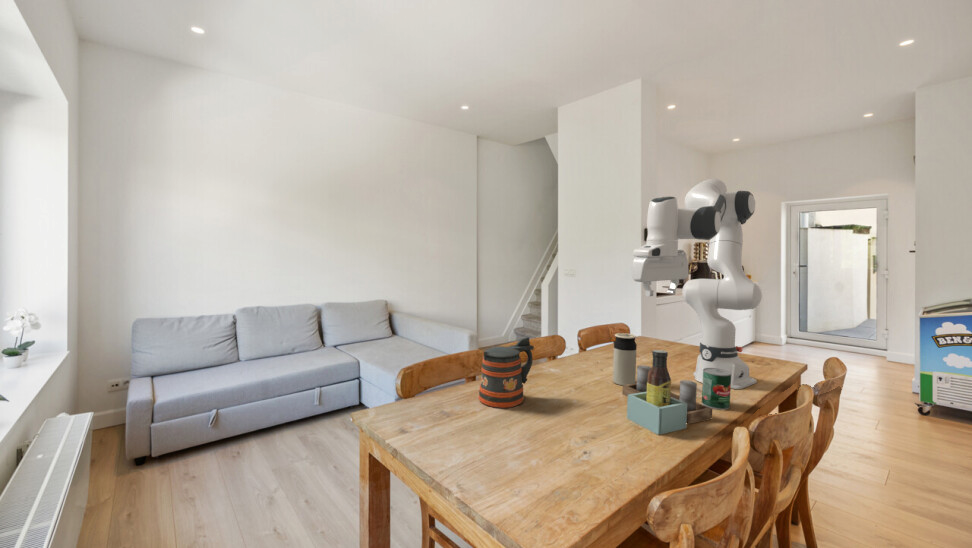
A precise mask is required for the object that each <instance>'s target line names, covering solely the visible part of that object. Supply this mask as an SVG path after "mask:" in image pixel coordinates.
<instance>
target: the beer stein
mask: <svg viewBox="0 0 972 548" xmlns="http://www.w3.org/2000/svg"><path fill="white" fill-rule="evenodd" d="M530 343H531V342H530V337H529V336H525V337H521V338H520V339H519V340H518V341H517V342H516V344H514V345H513V344H512V345H509V346H493V347H490V348H487V349H485V350H484V351H483V356H482V363H481V368H480V369H481V370H480V371H481V378H480V379H481V380H480V384H479V389H478V390H479V391H478V392H479V393H478V400H479V402H480V404H482V405H484V406H487V407H491V408H494V409H495V408H496V409H510V408H515V406H516V407H517V406H519V405H521V404H522V403H523V401H524V397H525V395H524V385H525V384H526V382H527V381H528V378H527V377H528V375H529V373H530V371H531V368H532V365H533V353H532V351H533V350H534V345H532V344H530ZM522 352H525V354H526V356H527V360H526V362H525V364H523V365H522V358H521V356H520V354H521V353H522Z"/></svg>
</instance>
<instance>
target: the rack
mask: <svg viewBox="0 0 972 548" xmlns="http://www.w3.org/2000/svg"><path fill="white" fill-rule="evenodd" d="M651 368H652V366H649V365H640V364H639V365H636V382H635V384H628V385H623V386H622V395H624V396H625V397H628V395H629V394H635V393H641V392H647V381H648V372H649V370H650V369H651ZM697 388H698V387H697V382H695V381H692V380H687V379H686V380H685V379H684V380H680V381H679V394H676V393H674V392H670V397H672V398H675V399H677V400H680V401H682V402H685V403H687V422H686V423H687V424H686V425H691V424H695V423H699V421H700V422H704V421H708V420H712V419H713V408H709V407H707V406H704V405H703V404H702V403H698V402H697ZM711 418H712V419H711ZM707 419H708V420H707ZM703 420H704V421H703ZM694 422H695V423H694ZM690 423H691V424H690Z"/></svg>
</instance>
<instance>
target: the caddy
mask: <svg viewBox="0 0 972 548" xmlns="http://www.w3.org/2000/svg"><path fill="white" fill-rule="evenodd" d="M646 396H647V392H641V393H635V394H629V395H628V396H627V401H626V403H627V406H626V419H628V421H631V422H633V423H636V424H637V425H639V426H640V427H643V428H645V429H646V430H648V431H650V432H653V434H655V435H659V436H660V435H662V434H663V435H664V434H667V433H673V432H676V431H681V430H685V429H687V424H686V422H687V403H685V402H682V401H680V400H677V399H675V398H672V397H670V405H668V406H663V407H657V406H655V405H653V404H651V403H648V402H646Z"/></svg>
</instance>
